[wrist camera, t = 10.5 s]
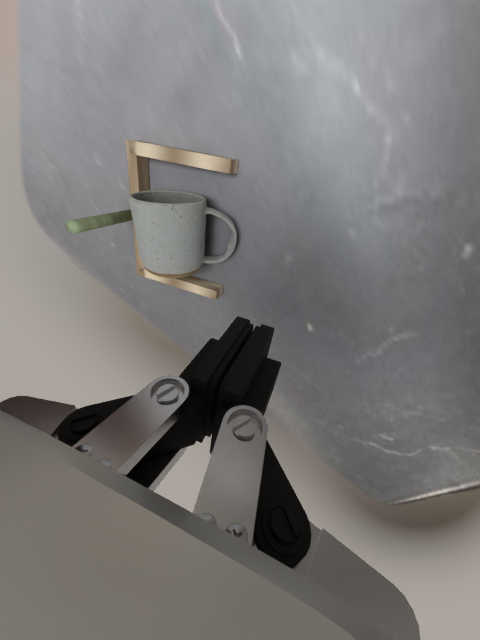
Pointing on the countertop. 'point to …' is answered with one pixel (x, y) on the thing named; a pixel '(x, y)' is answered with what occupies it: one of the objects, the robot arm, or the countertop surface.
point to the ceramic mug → (174, 232)
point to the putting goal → (140, 182)
